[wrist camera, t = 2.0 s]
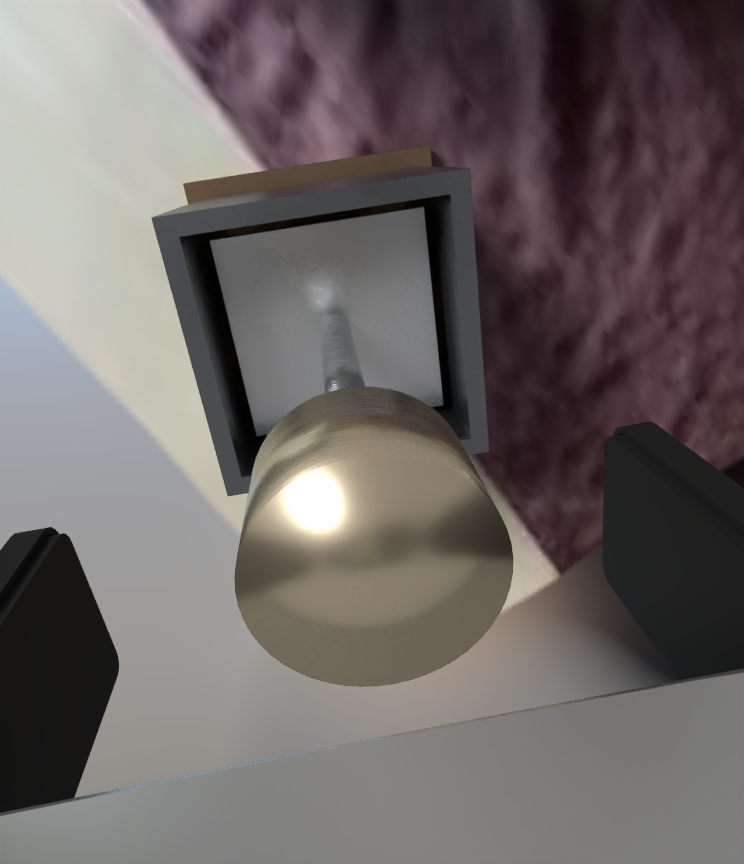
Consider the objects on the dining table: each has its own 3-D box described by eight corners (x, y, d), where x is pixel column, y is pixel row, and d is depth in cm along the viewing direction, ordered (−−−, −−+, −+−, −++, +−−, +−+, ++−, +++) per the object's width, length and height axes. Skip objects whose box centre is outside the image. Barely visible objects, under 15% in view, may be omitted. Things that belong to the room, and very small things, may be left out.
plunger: (420, 205, 24) (632, 288, 8) (439, 398, 27) (617, 716, 11) (212, 238, 23) (28, 387, 8) (258, 428, 27) (190, 795, 11)
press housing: (426, 146, 31) (492, 137, 20) (447, 372, 36) (510, 466, 25) (186, 183, 30) (118, 195, 19) (242, 406, 35) (212, 517, 24)
